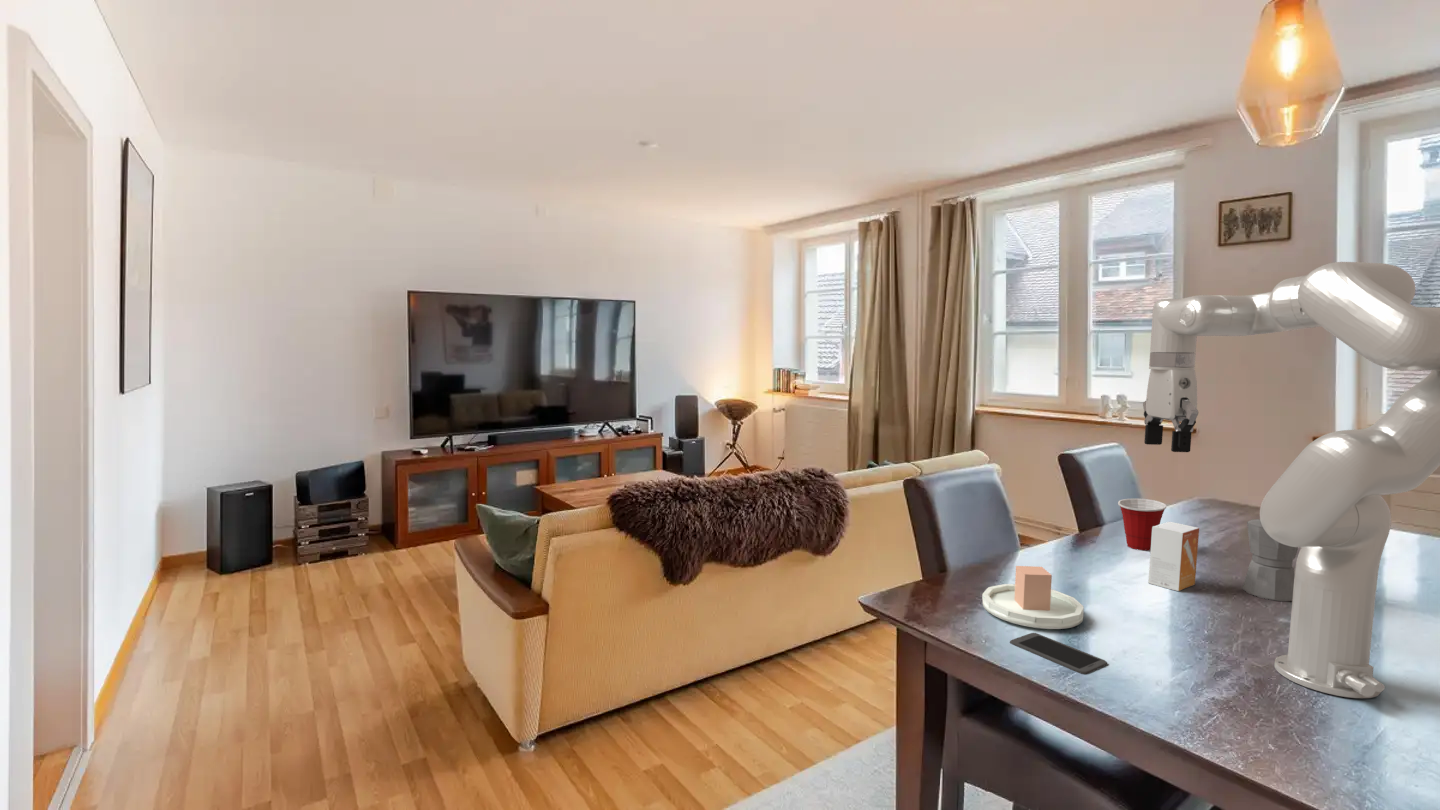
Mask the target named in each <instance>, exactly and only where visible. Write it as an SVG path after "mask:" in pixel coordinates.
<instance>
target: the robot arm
mask: <svg viewBox="0 0 1440 810" xmlns="http://www.w3.org/2000/svg"><path fill="white" fill-rule="evenodd" d="M1415 294H1416V283H1415V280H1414V278H1413V277H1412V276H1411V275H1410V273H1408V272H1407V270H1405V269H1403V268H1402V267H1399V266H1396V265H1393V264H1388V263H1382V262H1364V261H1363V262H1362V261H1360V262H1358V261H1335V262H1329V263H1327V264H1323V265H1320V266H1319V267H1316V268H1315V269H1313V270H1311V271H1310V272H1309V273H1308V274H1305V275H1300V276H1295V277H1289V278H1286V279H1283V280H1281V281H1280V282H1278V283H1277V284H1276V285H1275V286H1274V287H1273V289H1272V290H1271V291H1267V292H1263V293H1262V292H1261V293H1255V294H1249V295H1230V294H1229V295H1228V294H1227V295H1224V294H1221V295H1219V294H1217V295H1215V294H1214V295H1213V294H1200V295H1192V296H1188V297H1184V298H1183V297H1182V298H1165V299H1159V300H1157V301H1156V302H1154V304H1153V306H1152V307H1153V308H1152V317H1151V335H1150V350H1149V367H1148V369H1149V370H1150V371H1149V376H1148V383H1147V389H1146V399H1145V401H1143V402H1142V407H1143V416H1144V421H1143V422H1144V425H1145V427H1144V429H1145V430H1144V444H1145V445H1151V446H1152V445H1155V446H1158V445H1159V446H1160V445H1162V444H1163V435H1164V434H1163V433H1164V425H1162V423H1163V421H1164V420H1167V421H1171V424H1172V426H1173V429H1174V430H1172V431H1171V432H1172V433H1171V448H1170V450H1171V452H1174V453H1190V452H1191V444H1192V433H1193V432H1194V427H1195V425H1196V423H1197V418H1198V415H1199V410H1198V381H1197V375H1196V370H1195V369H1196V368H1195V367H1196V353H1197V337H1243V336H1245V337H1246V336H1254V335H1264V334H1266V335H1267V334H1273V333H1274V334H1275V333H1280V332H1286V331H1288V332H1291V331H1295V330H1296V331H1297V330H1303V329H1311V328H1312V329H1313V328H1319V327H1321V328H1323V329H1324V330H1325V331H1326V332H1328V333H1330V334H1331V335H1333V336H1334V337H1335V338H1337V340H1339V341H1340V342H1343V344H1345V345H1346V346H1348V348H1351V349H1352V350H1353V351H1355V352H1356V353H1358V355H1360V356H1361V357H1363V358H1365V360H1368V361H1369V362H1372V364H1375V365H1377V366H1380V367H1383V368H1385V369H1390V370H1395V371H1430V372H1429V374H1427V376H1426V377H1424V378H1423V379H1422V380H1421V381H1420V382H1417V384H1414V386H1412V387H1410V388H1409V389H1408V390H1406V391H1405V392H1404V393H1403V394H1401V395H1400V396H1399V397H1398V398H1397V399H1396V400H1395V402H1394V403H1392V405H1391V406H1390V407H1389V409H1388V410H1387V411H1386V412H1385V413H1384V414H1383V415H1382V416H1381V417H1380V418H1379V419H1378V420H1377V421H1376V422H1375V423H1373V424H1372V425H1370V426H1369V427H1366V428H1361V429H1344V430H1337V431H1336V430H1335V431H1331V432H1329V433H1326V434H1323V435H1321V436H1319V437H1318V438H1317V437H1316V439H1314V440H1313V441H1311V442H1310V443H1309V444H1307V446H1305V447H1304V448H1303V450H1302V451H1301V452H1300V453H1299V454H1298V456H1296V458H1295V459H1294V460H1293V461H1292V462H1291V463H1290V465H1289V466H1288V467H1287V468H1286V469H1285V470H1284V472H1283V473H1282V474H1281V475H1280V477H1279V478H1278V479H1277V480H1276V481H1275V482H1274V483H1273V485H1272V486H1271V487H1270V489H1269V490H1268V491H1267V493H1266V494H1265V496H1264V497H1263V499H1262V501H1261V504H1260V507H1259V519H1260V521H1261V524H1262V526H1263V528H1264V530H1265V531H1266V533H1267V534H1268V535H1269V536H1270V537H1271V538H1273V539H1274V540H1275V541H1277V542H1279V543H1281V544H1284V545H1287V546H1291V547H1298V549H1299V548H1300V549H1299V552H1298V553H1297V554H1298V555H1297V558H1296V563H1295V567H1294V568H1295V569H1294V574H1295V576H1294V587H1293V599H1292V601H1291V612H1290V613H1291V614H1290V626H1289V635H1288V651H1287V654H1282V655H1279V656H1276V658H1275V659H1274V664H1273V665H1274V669H1275V670H1276V671H1277V672H1278V674H1280V675H1282V677H1284V678H1285V679H1287V680H1289V681H1291V682H1293V683H1296V684H1298V685H1300V686H1303V687H1304V688H1308V689H1311V690H1314V691H1317V692H1320V693H1323V694H1327V695H1328V694H1329V695H1333V696H1337V697H1344V698H1351V699H1372V698H1376V697H1378V696H1379V695H1381V693H1382V692H1384V691H1385V685H1384V684H1383V683H1382V682H1380V681H1379V680H1377V679H1376V678H1375V677H1374V666H1372V665H1370V657H1371V656H1370V655H1371V648H1372V637H1373V636H1372V635H1373V625H1374V616H1375V605H1376V597H1377V596H1376V594H1377V588H1378V587H1377V585H1378V577H1379V570H1380V564H1381V559H1382V555H1383V552H1384V549H1385V546H1386V543H1387V540H1388V537H1389V535H1390V531H1391V527H1392V526H1391V525H1392V513H1391V510H1390V507H1389V505H1388V502H1387V501H1386V500H1385V499H1384V497H1382V496H1383V495H1396V494H1402V493H1407V492H1410V491H1413V490H1415V489H1416V488H1418V487H1419V486H1421V485H1422V484H1423V483H1424V482H1425V481H1426V480H1428V479H1429V478H1430V477H1431V475H1433V473H1434V472H1435V471H1436V470H1437V469H1438V468H1439V467H1440V307H1437V306H1436V307H1433V306H1429V307H1428V306H1427V307H1426V306H1423V307H1422V306H1420V307H1419V306H1414V305H1412V304H1411V303H1412V301H1413V300H1414V298H1415Z"/></svg>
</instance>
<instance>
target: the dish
mask: <svg viewBox="0 0 1440 810" xmlns="http://www.w3.org/2000/svg"><path fill="white" fill-rule="evenodd" d="M981 595H982V596H981V597H982V598H981V599H982V606H983V608H984V610H985V611H987V612H988V613H989V614H990V615H993V616H994V617H996V618H999V619H1001V620H1003V621H1006V622H1008V623H1011V624H1014V625H1015V624H1016V625H1020V626H1024V627H1028V628H1035V629H1044V630H1045V629H1047V630H1061V629H1062V630H1063V629H1070V628H1071V629H1072V628H1074V627H1077V626H1079V625H1081V623H1082V622H1083V620H1084V610H1085V609H1084V607H1085V606H1084V605H1083V604H1082V603H1080V602H1079V601H1078V600H1077V599H1076V598H1075V597H1074V596H1070V595H1068V594H1066V593H1063V592H1060V591H1058V590H1056V589H1052V588H1051V601H1050V610H1024V609H1022V608H1021V606H1020V605H1019V604H1018V603H1017V602H1016V601H1015V600H1014V599H1015V583H1014V584H1013V583H1003V584H998V585H992V586H988V587H987V588H986V589H985V590H984V592H982V594H981Z"/></svg>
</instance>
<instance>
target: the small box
mask: <svg viewBox="0 0 1440 810" xmlns="http://www.w3.org/2000/svg"><path fill="white" fill-rule="evenodd" d="M1199 536H1200V527H1198V526H1192V525H1187V524H1182V523H1178V522H1172V521H1166V522H1164V523H1160V524H1159V525H1156V526H1153V527H1152V537H1151V550H1150V555H1149V569H1148V581H1147V583H1148V584H1151V585H1153V586H1157V587H1161V588H1164V589H1168V590H1171V591H1172V590H1173V591H1176V592H1180V591H1182V590H1184V589H1186V588H1187V589H1188V588H1189V587H1192V586H1194V585H1195V584H1196V574H1197V562H1198V548H1199V547H1198V546H1199Z"/></svg>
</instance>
